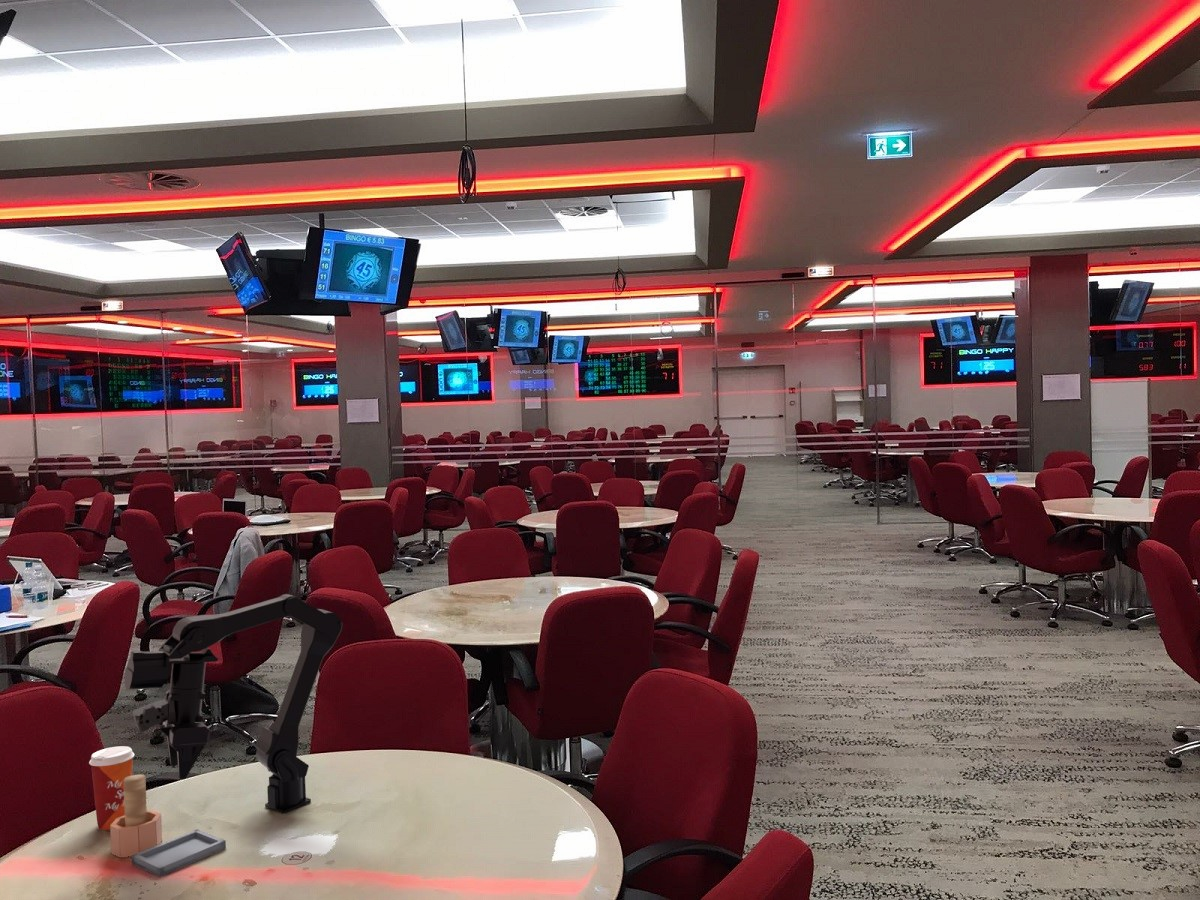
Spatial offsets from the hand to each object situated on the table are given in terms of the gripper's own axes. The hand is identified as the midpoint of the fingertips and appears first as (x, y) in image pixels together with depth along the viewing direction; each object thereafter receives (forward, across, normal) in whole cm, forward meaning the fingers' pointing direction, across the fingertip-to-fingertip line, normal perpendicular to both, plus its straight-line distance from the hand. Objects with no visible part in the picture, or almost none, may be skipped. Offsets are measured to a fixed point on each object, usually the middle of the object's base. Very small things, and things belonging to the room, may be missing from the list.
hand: (178, 771), depth 162 cm
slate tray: (+12, +9, 0) cm, 15 cm away
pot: (+13, 0, -6) cm, 14 cm away
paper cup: (+13, -14, -8) cm, 21 cm away
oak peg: (+13, 0, -6) cm, 14 cm away
